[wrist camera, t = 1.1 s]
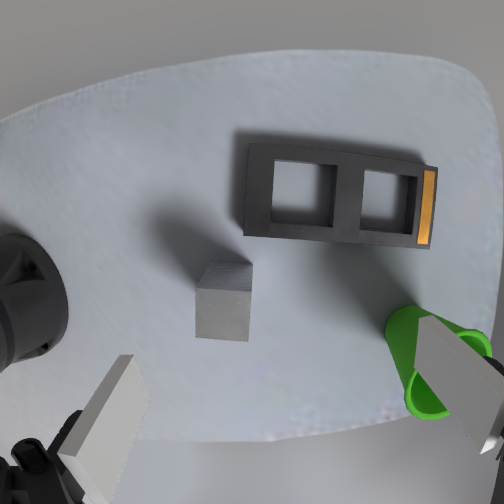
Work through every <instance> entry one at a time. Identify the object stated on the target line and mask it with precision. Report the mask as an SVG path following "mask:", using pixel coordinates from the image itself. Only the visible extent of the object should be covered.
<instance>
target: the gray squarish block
mask: <svg viewBox="0 0 504 504" xmlns="http://www.w3.org/2000/svg"><path fill="white" fill-rule="evenodd" d="M252 274H253V264H243V263H228V262H213V261H211V262H210V264H209V266H208V267H207V269H206V271H205V273H204V274H203V276H202V278H201V280H200V281H199V283H198V285H197V287H196V337H197V338H207V339H219V340H232V341H246V342H248V337H249V322H250V307H251V292H252Z"/></svg>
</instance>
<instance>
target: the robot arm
mask: <svg viewBox="0 0 504 504" xmlns="http://www.w3.org/2000/svg"><path fill="white" fill-rule="evenodd" d="M67 323H68V301H67V295H66V291H65V288H64V284H63V282H62V279H61V277H60V274H59V272H58V270H57V268H56V266H55V265H54V263H53V261H52V260H51V258H50V257H49V256H48V254H47V253H46V252H45V251H44V250H43V249H42V248H41V247H40V246H39V245H38V244H37V243H36V242H34V241H33V240H31V239H30V238H28V237H26V236H23V235H19V234H8V235H4V236H1V237H0V373H1V372H2V371H3V370H4V369H5V368H7V367H8V366H9V365H10V364H12V363H16V362H20V361H23V360H27V359H31V358H35V357H38V356H41V355H44V354H45V353H47V352H48V351H50V350H51V349H52V348H53V347H54V346H55V345H56V344H57V343H59V341H60V340H61V339H62V337H63V336H64V333H65V331H66V328H67ZM414 368H415V369H416V370H417V372H418V373H419V374H420V375H421V377H422V378H423V379H424V380H425V382H426V383H427V384H428V386H429V387H430V388H431V389H432V391H433V392H434V393H435V395H436V396H437V397H438V398H439V400H440V401H441V402H442V404H443V405H444V406H445V408H446V409H447V410H448V411H449V413H450V414H451V415H452V417H453V418H454V419H455V421H456V422H457V423H458V425H459V426H460V427H461V428H462V430H463V431H464V433H465V434H466V436H467V437H468V438H469V440H470V441H471V442H472V444H473V445H474V446H475V448H476V449H477V451H478V452H479V453H480V454H481V453H483V452H485V451H487V450H489V449H491V448H493V447H495V446H496V444H497V442H498V439H499V437H500V435H501V436H502V438H503V439H504V367H503V365H502V364H500V363H499V362H498V361H497V360H495V359H493V358H491V357H489V356H483V357H481V356H480V355H479V354H478V353H477V352H476V351H475V350H473V349H472V348H471V347H470V346H469V345H468V344H466V343H465V342H464V341H463V340H462V339H461V338H459V337H458V336H457V335H456V334H455V333H454V332H452V331H451V330H450V329H449V328H448V327H446V326H445V325H444V324H443V323H442V322H440V321H439V320H438V319H437V318H436V317H434V316H433V315H430V316H426V317H422V318H419V326H418V336H417V346H416V355H415V363H414ZM149 403H150V400H149V397H148V394H147V392H146V389H145V386H144V383H143V380H142V377H141V374H140V371H139V368H138V365H137V362H136V359H135V355H119V357H118V358H117V360H116V361H115V363H114V364H113V366H112V367H111V369H110V370H109V372H108V373H107V375H106V376H105V378H104V379H103V381H102V382H101V384H100V385H99V387H98V388H97V390H96V391H95V393H94V395H93V396H92V398H91V399H90V401H89V402H88V404H87V405H86V407H85V409H84V410H77V411H76V412H74V413H73V414H72V415H71V416H69V417H68V419H67V420H66V422H65V423H64V425H63V427H62V428H61V429H60V431H59V433H58V434H57V435H56V437H55V439H54V440H53V442H52V443H51V445H50V446H49V448H48V449H47V451H46V450H45V448H44V447H43V445H42V444H41V442H40V441H39V440H37V439H35V438H27V439H23V440H21V441H19V442H18V443H16V444H15V445H14V447H13V448H12V450H11V456H12V457H13V459H14V460H15V462H16V463H17V464H18V466H9V464H8V463H7V462H6V460H5V459H4V458H2V457H1V456H0V504H85V503H84V502H83V501H82V499H83V496H84V494H86V495H87V496H88V498H89V499H90V500H91V501H92V502H95V503H100V504H111V501H112V498H113V496H114V493H115V490H116V487H117V485H118V482H119V479H120V477H121V474H122V471H123V469H124V466H125V464H126V461H127V458H128V456H129V453H130V451H131V448H132V445H133V443H134V440H135V438H136V435H137V433H138V430H139V428H140V425H141V423H142V420H143V418H144V415H145V413H146V410H147V408H148V405H149ZM500 456H501V457H500ZM499 457H500V462H499V468H498V473H497V478H496V483H495V488H494V492H493V496H492V500H491V504H504V443H503V445H502V448H501V449H500V451H499V454H498V455H497V458H496V460H498V459H499Z"/></svg>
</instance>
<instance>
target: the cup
mask: <svg viewBox="0 0 504 504" xmlns="http://www.w3.org/2000/svg"><path fill="white" fill-rule="evenodd" d="M430 315H433V316H434V317H436V318H437V319H438V320H439V321H440V322H442V323H443V324H444V325H445V326H446V327H448V328H449V329H450V330H451V331H452V332H454V333H455V334H456V335H457V336H458V337H459V338H461V339H462V340H463V341H464V342H465V343H466V344H468V345H469V346H470V347H471V348H472V349H473V350H475V351H476V352H477V353H478V354H479V355H480V356H481V357H483V356H489V357H491V358H492V351H491V345H490V342H489V340H488V338H487V337H486V336H485V335H484V334H483V332H480V331H478V330H476V329H465V328H463V327H461V326H458V325H456V324H454V323H452V322H450V321H448V320H445V319H443V318H441V317H439V316H437V315H435V314H433V313H430V312H428V311H426V310H424V309H422V308H419V307H417V306H404V307H402V308H399V309H398V310H396V311H395V312H394V313H393V314H392V315H391V316H390V318H389V319H388V321H387V324H386V328H385V338H386V341H387V344H388V346H389V349H390V352H391V354H392V357H393V360H394V362H395V365H396V368H397V370H398V373H399V376H400V379H401V381H402V384H403V387H404V390H405V394H404V401H405V404H406V408H407V409H408V410H409V412H410V413H411V414H412V415H414V416H416V417H418V418H420V419H427V420H431V419H439V418H442V417H445V416H448V415H449V414H450V413H449V411H448V410H447V409H446V408H445V406H444V405H443V404H442V402H441V401H440V400H439V398H438V397H437V396H436V395H435V393H434V392H433V391H432V389H431V388H430V387H429V386H428V384H427V383H426V382H425V380H424V379H423V378H422V377H421V375H420V374H419V373H418V372H417V370H416V369H415V368H414V363H415V355H416V346H417V336H418V326H419V318H422V317H426V316H430Z"/></svg>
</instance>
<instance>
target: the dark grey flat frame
mask: <svg viewBox="0 0 504 504" xmlns="http://www.w3.org/2000/svg"><path fill="white" fill-rule="evenodd" d="M275 161H284V162H296V163H307V164H317V165H326V166H333V169H332V183H331V196H330V208H329V219H328V225H325V224H313V223H300V222H286V221H272V220H271V207H272V192H273V177H274V162H275ZM365 170H367V171H374V172H381V173H388V174H395V175H401V176H407V177H409V183H408V195H407V206H406V215H405V224H404V232H403V231H393V230H382V229H372V228H360V219H361V209H362V198H363V185H364V172H365ZM437 176H438V167H433V166H428V165H423V164H417V163H412V162H407V161H401V160H395V159H389V158H383V157H377V156H370V155H363V154H356V153H349V152H341V151H333V150H324V149H315V148H305V147H295V146H283V145H270V144H255V143H249V152H248V167H247V183H246V199H245V216H244V233H243V236H255V237H271V238H285V239H300V240H314V241H328V242H341V243H355V244H368V245H380V246H393V247H405V248H417V249H430V243H431V235H432V228H433V220H434V211H435V201H436V190H437Z"/></svg>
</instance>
